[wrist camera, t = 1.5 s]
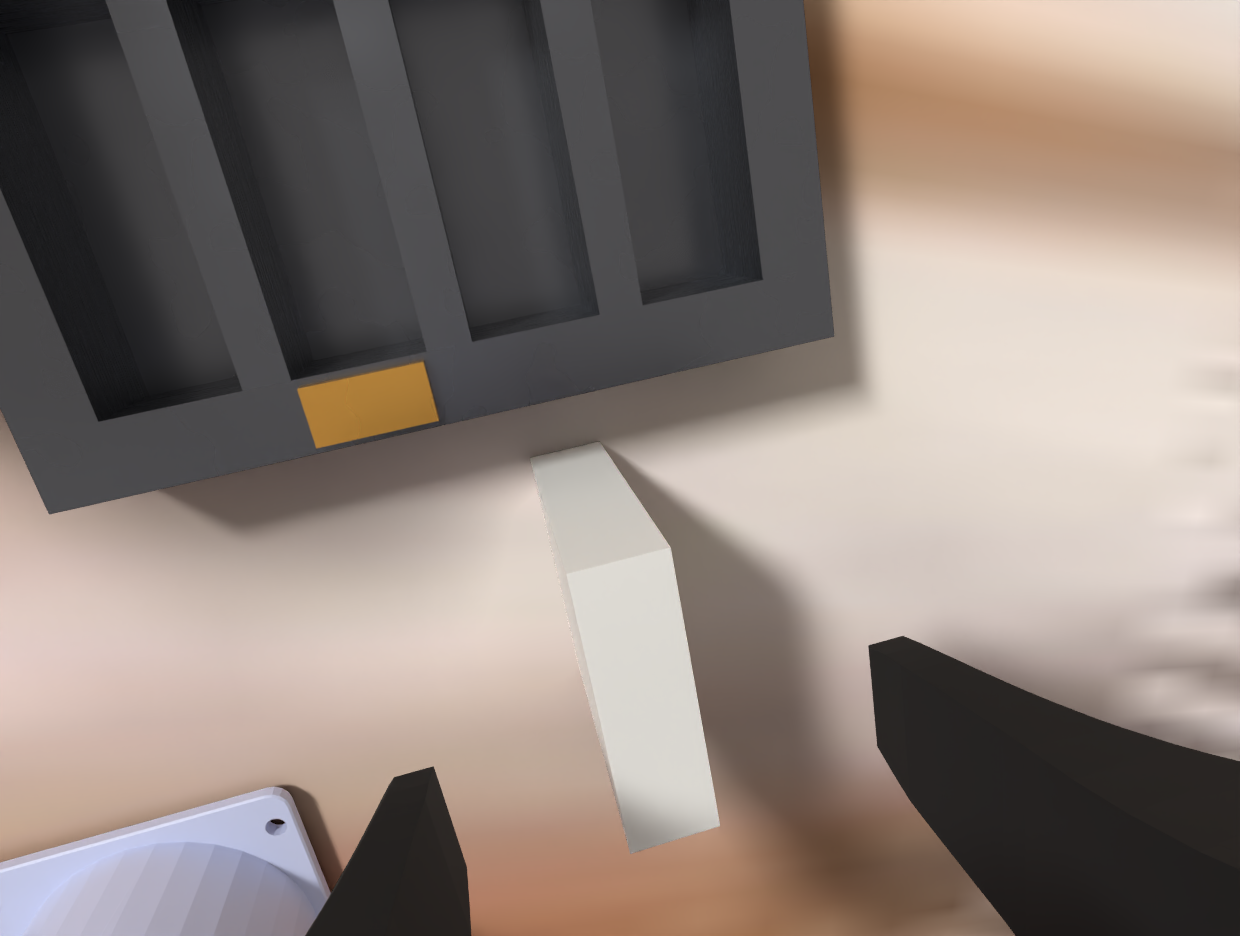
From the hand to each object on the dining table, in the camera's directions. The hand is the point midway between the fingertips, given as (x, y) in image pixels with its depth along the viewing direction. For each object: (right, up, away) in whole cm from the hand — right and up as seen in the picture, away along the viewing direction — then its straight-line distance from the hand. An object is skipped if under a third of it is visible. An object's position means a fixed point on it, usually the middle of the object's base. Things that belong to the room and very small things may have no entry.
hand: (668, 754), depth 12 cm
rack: (-5, +11, +5) cm, 13 cm away
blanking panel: (-2, +2, +8) cm, 9 cm away
